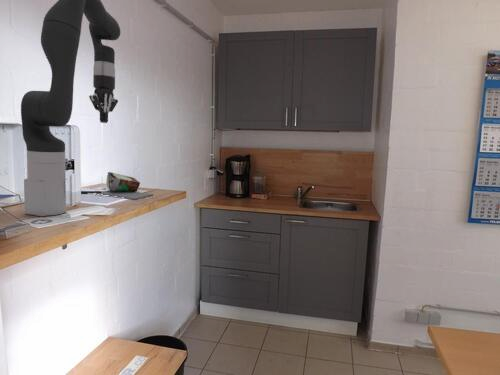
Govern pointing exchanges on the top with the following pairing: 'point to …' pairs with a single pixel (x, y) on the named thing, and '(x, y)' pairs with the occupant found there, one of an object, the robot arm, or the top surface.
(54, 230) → the top surface
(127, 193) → the mat
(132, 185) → the food container
